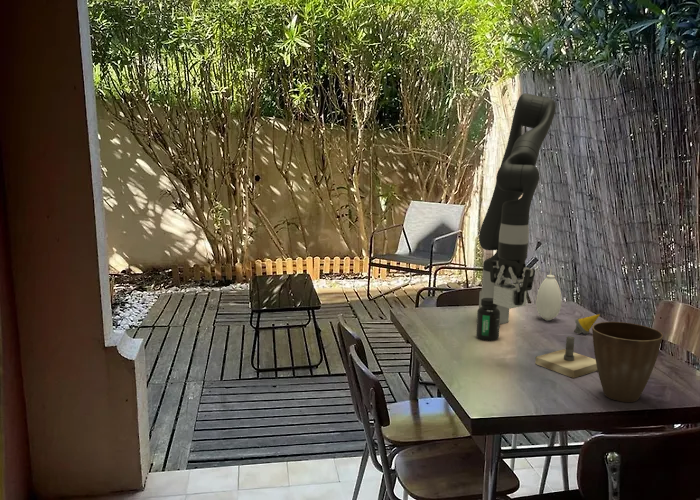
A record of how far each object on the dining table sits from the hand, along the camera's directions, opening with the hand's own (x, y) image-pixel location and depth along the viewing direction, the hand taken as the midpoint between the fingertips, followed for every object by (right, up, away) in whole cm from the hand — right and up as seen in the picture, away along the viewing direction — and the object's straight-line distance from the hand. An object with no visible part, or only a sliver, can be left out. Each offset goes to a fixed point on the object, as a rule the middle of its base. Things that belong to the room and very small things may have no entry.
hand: (509, 302), depth 164 cm
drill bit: (+31, -12, +28) cm, 44 cm away
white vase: (+24, -10, +42) cm, 49 cm away
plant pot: (+21, -21, -20) cm, 36 cm away
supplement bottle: (-1, -13, +22) cm, 26 cm away
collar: (0, -1, 0) cm, 1 cm away
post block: (+15, -17, -2) cm, 23 cm away
